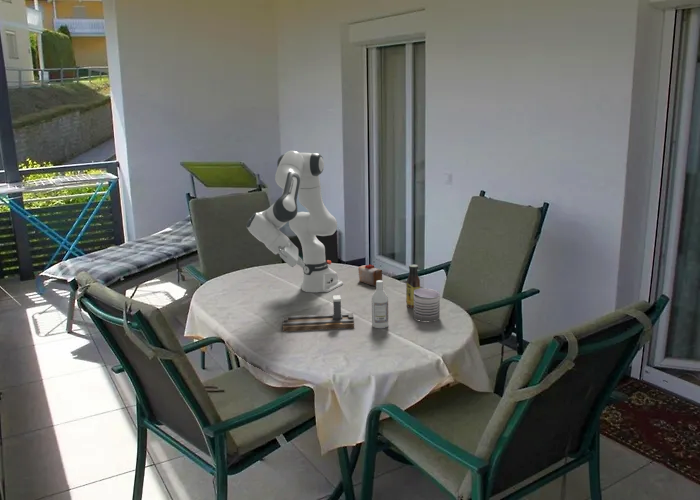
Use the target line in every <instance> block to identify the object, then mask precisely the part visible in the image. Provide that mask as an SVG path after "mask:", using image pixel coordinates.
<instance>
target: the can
mask: <svg viewBox="0 0 700 500" xmlns="http://www.w3.org/2000/svg"><path fill="white" fill-rule="evenodd" d="M440 296H441V295H440V291H438V290H435V289H432V288H423V287H420V289H416V290H414V308H413V319H414V320H415V319H417V320H420V321H434V320H437V319H438V318H439V319H440V316H441V315H440V314H441V313H440V312H441V311H440V310H441V309H440V305H441V303H440V300H441V297H440ZM439 319H438V320H439ZM417 320H416V321H417ZM438 320H437V321H438ZM420 321H419V322H420ZM434 322H435V321H434Z"/></svg>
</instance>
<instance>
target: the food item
mask: <svg viewBox="0 0 700 500" xmlns="http://www.w3.org/2000/svg"><path fill="white" fill-rule="evenodd" d="M358 279H359V280H358V281H359V282H361V283H364V284H367V285H370V286H372V287H376V281H378V280H382V281H383V269H380V268H378V267H377V268H376V267H375V264H374V263H373V264H371V263H369V264H367V265H366V264H365V265H361V266H358Z"/></svg>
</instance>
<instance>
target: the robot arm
mask: <svg viewBox="0 0 700 500" xmlns="http://www.w3.org/2000/svg"><path fill="white" fill-rule="evenodd" d="M324 168H325V162H324V157H323V156H322V155H321V154H320V153H318V152H312V153H311V152H298V151H297V150H296V151H295V150H288V151H287V152H285V153H283V154H281V155H280V156H279V157H278V159H277V169H276V171H275V176H274V179H275V180H274V181H275V183H276V184H277V186H278V187H279V188H280V189H282V194H281V195H280V197H278V199H276V200H275V202H274V203H273V204H272V205H270V206H269V207H268V208H267V209H265V210H263V211H259V212H256V211H255V212H253V213H252V214H251V215H250V217H249V218H248V220H247V221H246V229H247V230H248V232H249V233H250V234H251V235H252V236H253V237H254V239H255V238H256V239H257V240H258V241H259V242H260V243H263V244H264V245H265V247H266V248H267V249H268V250H269V251H270V252H272V254H274V255H279V257H280V258H281V259H282V260H283V261H284V262H285V263H286V264H287V265H288V266H290V267H291V268H294V266H296V265H297V266H299V267H301V268H302V282H301V287H300V288H301V290H302V291H303V292H307V293H329V292H331V291H332V290H335V289H337V288H338V287H341V286H342V285H343V284H344V282H343V281H342V280H340V279H339V275H338V272H336V271H335V270H333V269H332V268H330V267H329V265H332V261H331V260H329V259H327V260H326V247H325V245H324V243H322V242H321V241H320V240H319V239H318V238H317V236H320V237H327V236H332V235H334V234H335V232H337V228H338V221H337V219H336V217H335V216H334V215H333V214H332V213H330V211H329V210H328V208H327V207H326V205H325V204H324V201H323V196H322V188H321V180H320V179H321V178H320V175H321V174H322V173H323V171H324ZM297 198H298V199H297ZM298 201H299V202H298ZM298 203H300V205H302V206H303V207H304V208H305V209H306V210H307V212H306V211H298ZM287 223H288V226H289V228H290V230H291V231H292V232H293V233H294V234H295V235H296V236H297V238H298V240H299V242H300V245H301V248H302V249H301V250H302V258H301V257H300V256H299V248H298V247H297V246H296V245H295V244H294V243H293V242H292V240H290V238H289V236H288V235H287V234H286V233H283V232H282V231H281V230H280V229H281V228H283V226H285V225H286V224H287Z"/></svg>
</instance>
